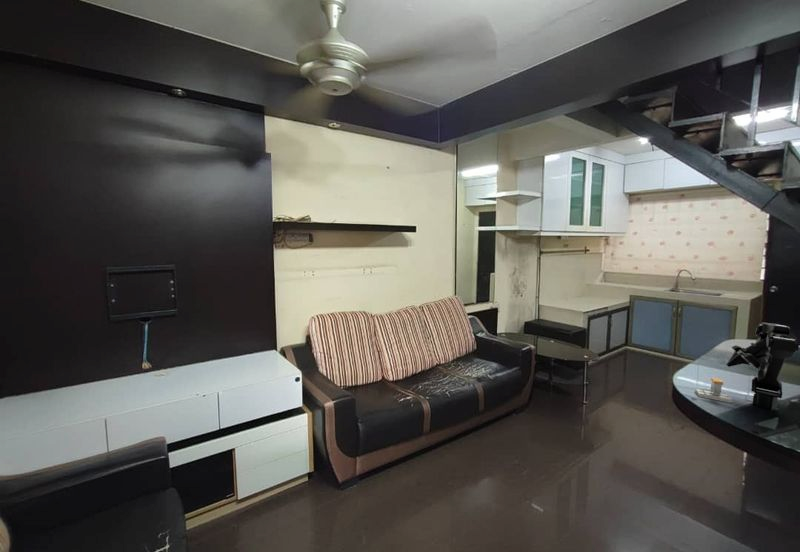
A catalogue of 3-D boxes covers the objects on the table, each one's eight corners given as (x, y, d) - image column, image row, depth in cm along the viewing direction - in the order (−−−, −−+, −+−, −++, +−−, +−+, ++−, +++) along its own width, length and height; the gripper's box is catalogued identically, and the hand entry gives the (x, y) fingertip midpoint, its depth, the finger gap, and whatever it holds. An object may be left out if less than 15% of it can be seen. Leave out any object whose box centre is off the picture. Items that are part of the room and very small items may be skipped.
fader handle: (717, 392, 164) (719, 379, 164) (721, 396, 160) (723, 382, 159) (709, 391, 166) (711, 377, 165) (712, 394, 161) (714, 380, 161)
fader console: (726, 397, 163) (727, 394, 163) (731, 402, 158) (731, 399, 158) (695, 391, 169) (695, 388, 169) (698, 396, 164) (699, 393, 163)
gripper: (787, 368, 151) (749, 386, 158) (768, 356, 167) (734, 373, 174) (765, 347, 154) (728, 366, 160) (748, 337, 170) (716, 355, 177)
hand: (727, 365), depth 168 cm, fingers closed
